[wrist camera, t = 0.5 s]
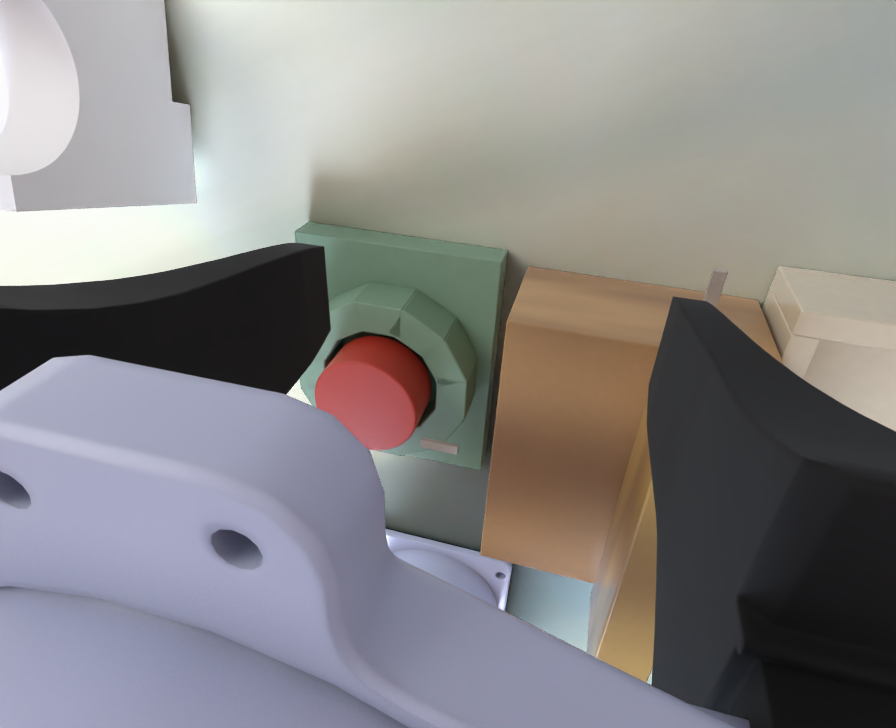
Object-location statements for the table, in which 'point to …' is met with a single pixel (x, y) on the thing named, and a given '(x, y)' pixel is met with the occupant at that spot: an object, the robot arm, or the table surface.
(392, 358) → the tap button
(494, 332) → the tap control
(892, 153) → the table surface
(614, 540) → the golden tan long bar
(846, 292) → the wooden tray
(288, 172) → the table surface
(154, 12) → the bracket
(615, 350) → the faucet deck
